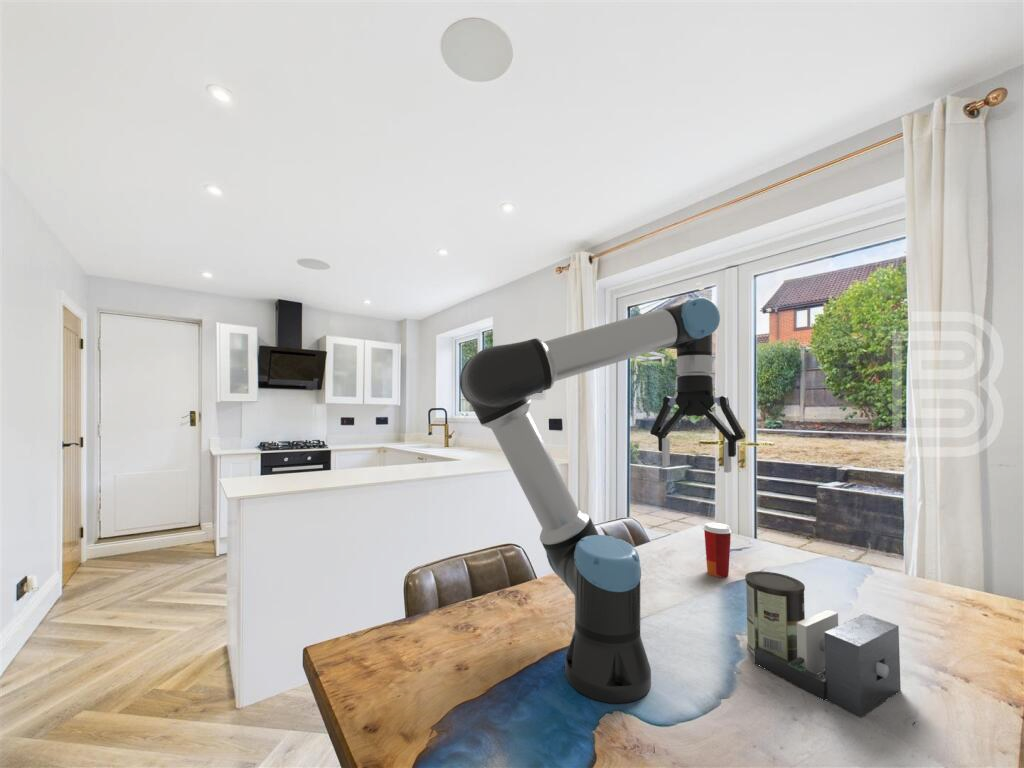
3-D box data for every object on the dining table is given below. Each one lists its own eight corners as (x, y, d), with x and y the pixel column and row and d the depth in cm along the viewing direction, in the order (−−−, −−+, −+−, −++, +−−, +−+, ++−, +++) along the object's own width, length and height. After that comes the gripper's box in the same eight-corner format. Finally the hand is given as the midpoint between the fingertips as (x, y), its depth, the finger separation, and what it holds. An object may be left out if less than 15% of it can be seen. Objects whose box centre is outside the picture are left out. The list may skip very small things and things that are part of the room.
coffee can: (793, 641, 93) (791, 572, 93) (816, 670, 82) (814, 593, 83) (739, 636, 95) (738, 568, 95) (756, 663, 85) (754, 588, 85)
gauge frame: (754, 663, 84) (753, 604, 85) (797, 644, 92) (796, 589, 92) (859, 719, 70) (857, 647, 70) (900, 690, 77) (898, 625, 77)
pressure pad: (788, 678, 78) (787, 626, 79) (829, 657, 85) (828, 609, 85) (861, 717, 69) (859, 657, 69) (901, 689, 75) (899, 635, 76)
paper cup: (733, 572, 131) (733, 524, 132) (730, 581, 125) (730, 530, 125) (705, 567, 135) (704, 520, 136) (700, 575, 129) (700, 526, 130)
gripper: (759, 374, 96) (761, 472, 95) (649, 378, 113) (649, 462, 112) (750, 371, 91) (752, 476, 90) (636, 376, 107) (636, 465, 106)
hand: (695, 468), depth 101 cm, fingers open, 13 cm apart
